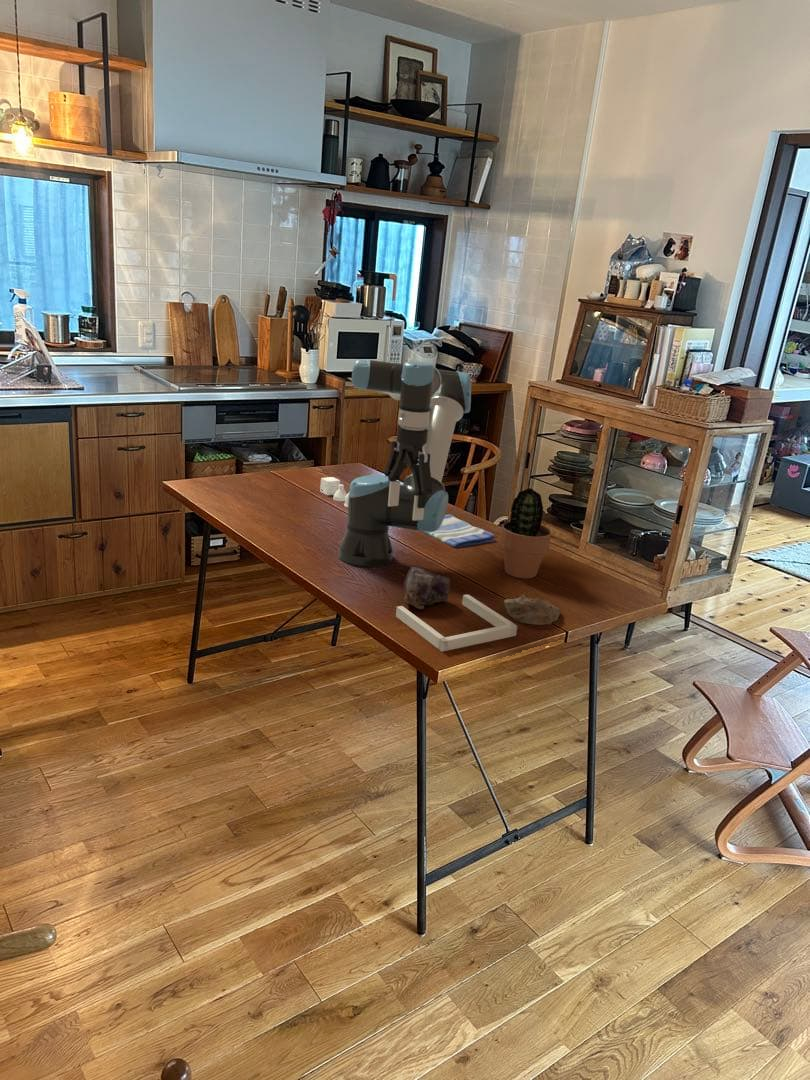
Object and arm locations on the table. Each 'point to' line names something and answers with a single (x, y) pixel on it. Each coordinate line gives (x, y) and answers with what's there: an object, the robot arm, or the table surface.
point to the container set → (334, 489)
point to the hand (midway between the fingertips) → (405, 512)
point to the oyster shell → (531, 610)
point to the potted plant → (525, 536)
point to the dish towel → (460, 533)
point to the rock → (425, 588)
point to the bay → (467, 639)
